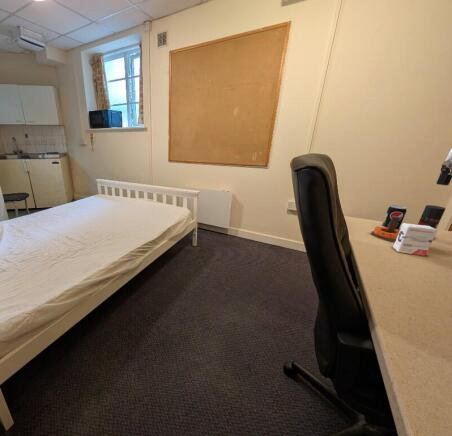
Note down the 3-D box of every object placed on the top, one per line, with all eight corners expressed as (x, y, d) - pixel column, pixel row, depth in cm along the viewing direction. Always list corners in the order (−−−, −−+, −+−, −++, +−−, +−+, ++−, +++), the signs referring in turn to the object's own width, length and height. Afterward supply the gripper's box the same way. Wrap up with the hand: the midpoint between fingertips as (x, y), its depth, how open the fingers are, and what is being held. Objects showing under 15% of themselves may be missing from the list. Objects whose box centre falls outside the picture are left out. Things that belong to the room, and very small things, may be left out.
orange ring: (407, 237, 102) (408, 234, 101) (390, 239, 100) (392, 235, 99) (384, 229, 111) (385, 226, 110) (368, 231, 109) (369, 227, 108)
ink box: (418, 250, 93) (430, 225, 89) (425, 256, 89) (438, 229, 85) (392, 247, 97) (402, 222, 93) (398, 252, 92) (409, 226, 88)
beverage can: (379, 227, 117) (388, 206, 113) (382, 225, 121) (390, 204, 116) (397, 231, 112) (406, 209, 108) (399, 228, 116) (408, 207, 111)
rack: (406, 240, 103) (415, 219, 99) (391, 241, 101) (400, 220, 98) (384, 232, 111) (392, 213, 108) (370, 234, 110) (377, 214, 106)
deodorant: (413, 232, 111) (426, 204, 106) (431, 236, 107) (445, 207, 101) (412, 236, 107) (425, 206, 102) (431, 240, 103) (445, 209, 98)
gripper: (471, 137, 75) (448, 187, 81) (505, 137, 78) (481, 185, 84) (441, 137, 81) (422, 183, 87) (473, 137, 85) (453, 181, 91)
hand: (451, 184), depth 86 cm, fingers open, 9 cm apart
